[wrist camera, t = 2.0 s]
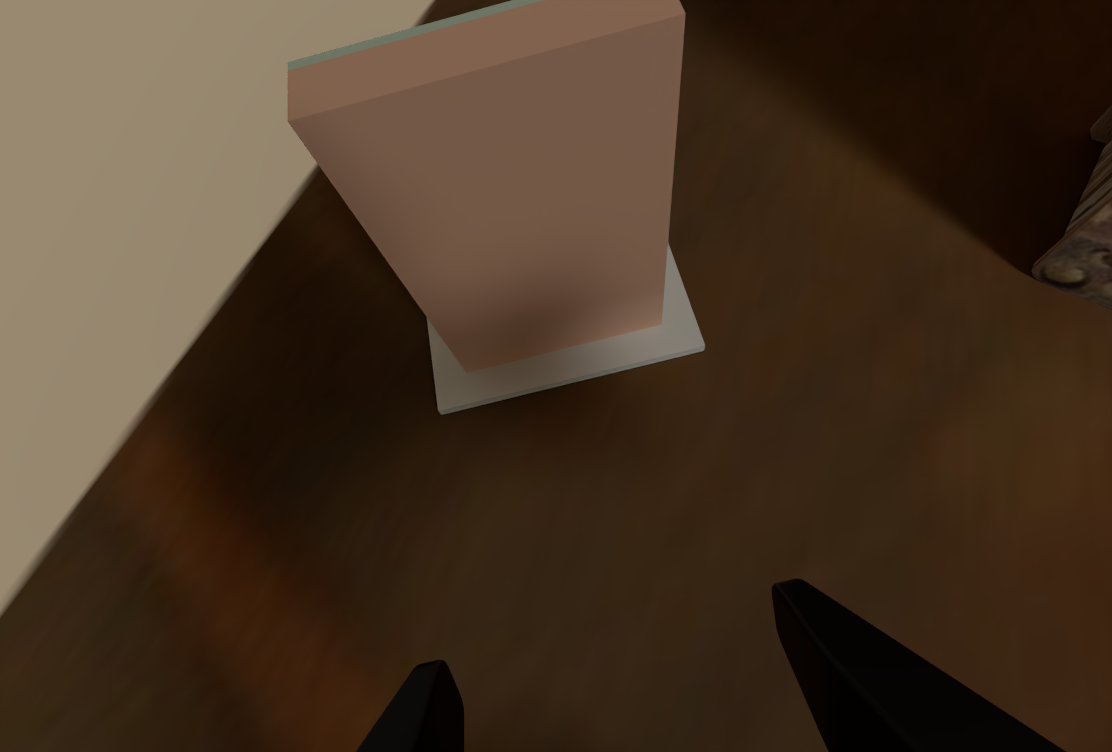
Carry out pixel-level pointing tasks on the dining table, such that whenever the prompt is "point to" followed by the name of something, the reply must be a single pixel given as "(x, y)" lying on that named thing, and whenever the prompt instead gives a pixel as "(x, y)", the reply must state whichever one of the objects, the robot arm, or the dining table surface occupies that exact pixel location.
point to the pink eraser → (510, 165)
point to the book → (1086, 233)
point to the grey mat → (569, 356)
